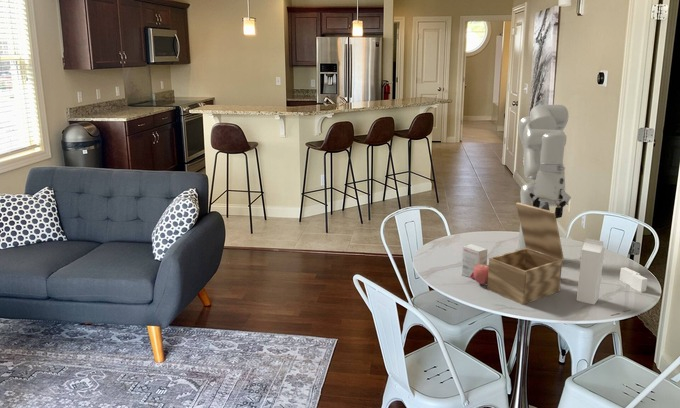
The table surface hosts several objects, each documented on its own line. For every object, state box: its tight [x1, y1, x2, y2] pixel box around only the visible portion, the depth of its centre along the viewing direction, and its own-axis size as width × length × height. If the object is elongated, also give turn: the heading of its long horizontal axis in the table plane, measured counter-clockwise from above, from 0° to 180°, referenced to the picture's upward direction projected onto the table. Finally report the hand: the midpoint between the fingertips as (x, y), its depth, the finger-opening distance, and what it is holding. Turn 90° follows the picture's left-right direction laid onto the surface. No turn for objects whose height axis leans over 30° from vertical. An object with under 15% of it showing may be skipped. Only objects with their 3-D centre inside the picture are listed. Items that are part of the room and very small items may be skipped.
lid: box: [515, 202, 564, 261], centre depth 207 cm, size 20×16×7 cm
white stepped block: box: [619, 266, 648, 293], centre depth 210 cm, size 15×11×6 cm
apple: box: [473, 264, 489, 285], centre depth 212 cm, size 7×7×8 cm
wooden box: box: [486, 248, 563, 305], centre depth 206 cm, size 20×16×12 cm
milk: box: [576, 238, 605, 305], centre depth 196 cm, size 6×6×22 cm
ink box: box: [461, 243, 488, 280], centre depth 219 cm, size 9×5×12 cm, turn 37°
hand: (546, 214), depth 206 cm, fingers open, 9 cm apart
